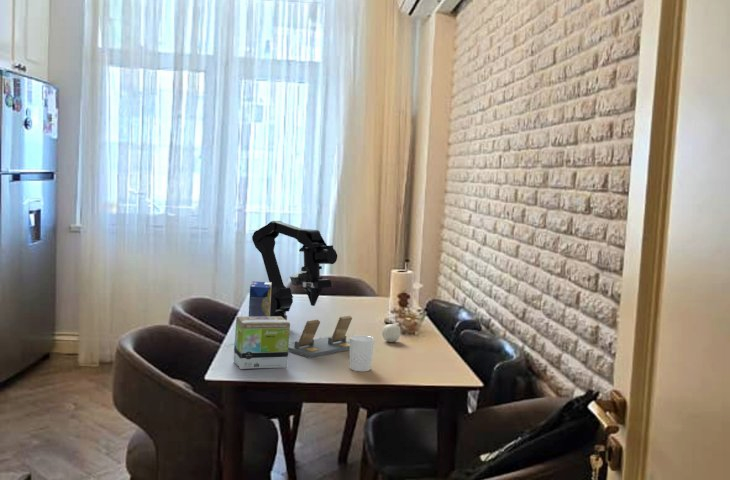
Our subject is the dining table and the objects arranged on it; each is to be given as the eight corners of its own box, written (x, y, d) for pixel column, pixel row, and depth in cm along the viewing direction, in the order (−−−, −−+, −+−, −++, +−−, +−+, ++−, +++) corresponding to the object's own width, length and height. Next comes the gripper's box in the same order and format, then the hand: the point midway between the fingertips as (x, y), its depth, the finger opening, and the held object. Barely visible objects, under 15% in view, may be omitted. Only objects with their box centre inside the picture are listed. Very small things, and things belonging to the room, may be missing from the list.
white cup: (347, 364, 229) (349, 334, 228) (371, 365, 230) (373, 335, 229) (348, 371, 221) (350, 340, 220) (373, 372, 222) (375, 341, 221)
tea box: (240, 370, 215) (242, 323, 214) (233, 361, 224) (235, 315, 223) (288, 368, 221) (290, 321, 220) (278, 359, 230) (281, 314, 229)
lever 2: (330, 341, 251) (339, 317, 247) (340, 339, 254) (349, 315, 251) (332, 343, 250) (342, 319, 246) (342, 341, 254) (352, 317, 250)
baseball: (378, 342, 261) (379, 324, 261) (385, 338, 268) (386, 321, 267) (395, 345, 259) (397, 327, 258) (402, 341, 266) (403, 323, 265)
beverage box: (268, 344, 249) (271, 282, 247) (267, 352, 238) (270, 287, 236) (248, 343, 248) (252, 281, 246) (246, 351, 237) (250, 286, 235)
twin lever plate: (281, 348, 244) (281, 338, 243) (331, 339, 261) (331, 330, 261) (308, 357, 234) (309, 347, 234) (358, 347, 252) (359, 338, 251)
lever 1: (297, 345, 242) (307, 321, 238) (307, 343, 245) (317, 319, 242) (299, 347, 241) (309, 323, 237) (310, 345, 245) (320, 321, 241)
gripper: (280, 264, 265) (281, 305, 265) (306, 266, 250) (307, 310, 250) (305, 262, 271) (306, 302, 272) (332, 264, 256) (333, 307, 257)
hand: (312, 305), depth 263 cm, fingers closed
